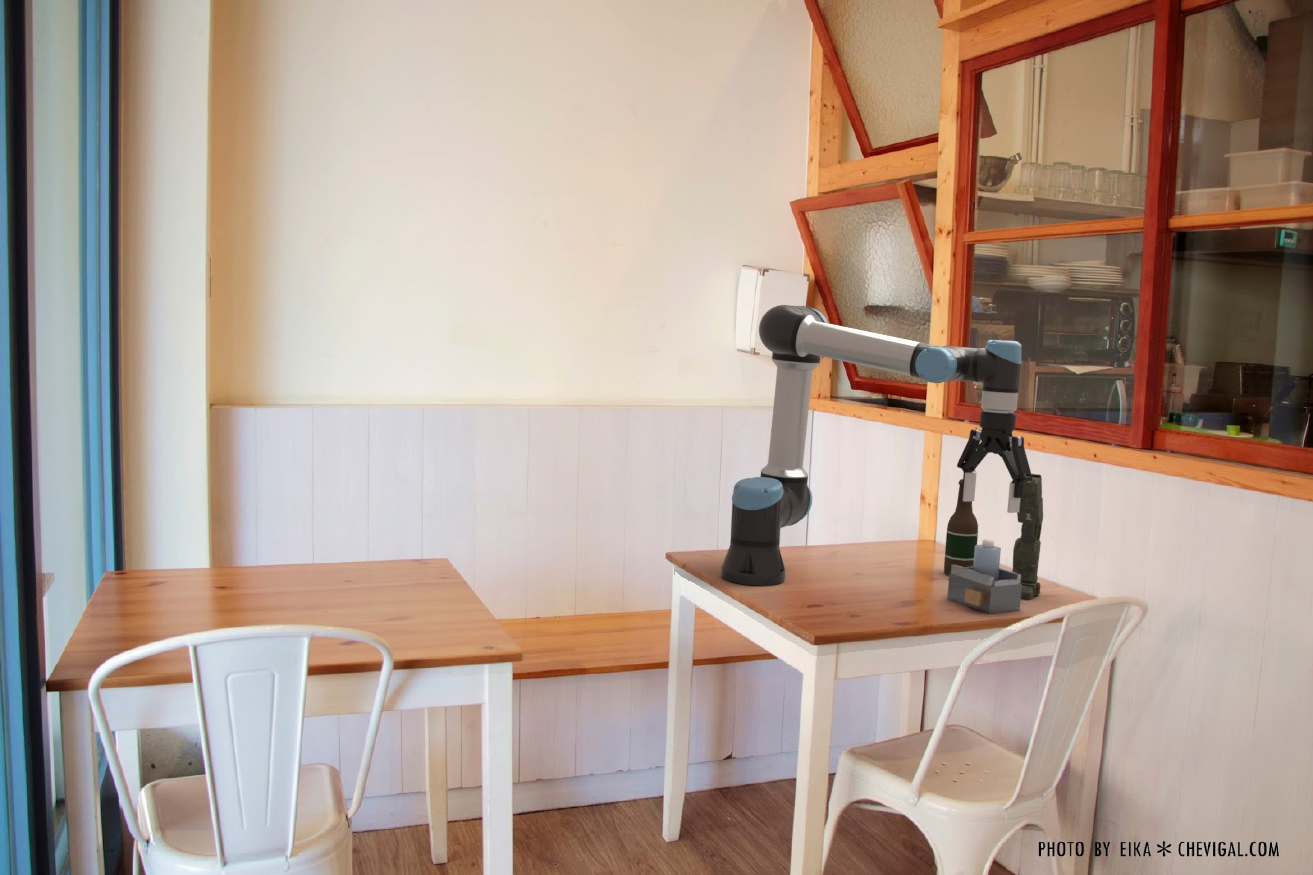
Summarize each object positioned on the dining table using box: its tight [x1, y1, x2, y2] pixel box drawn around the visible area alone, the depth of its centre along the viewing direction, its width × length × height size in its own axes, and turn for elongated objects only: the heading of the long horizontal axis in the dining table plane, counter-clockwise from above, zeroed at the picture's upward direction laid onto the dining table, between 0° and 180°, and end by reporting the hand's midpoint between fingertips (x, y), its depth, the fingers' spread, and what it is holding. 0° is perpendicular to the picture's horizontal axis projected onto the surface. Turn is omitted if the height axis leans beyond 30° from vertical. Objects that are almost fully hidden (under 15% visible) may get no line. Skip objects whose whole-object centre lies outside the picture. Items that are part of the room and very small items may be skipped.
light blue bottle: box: [973, 539, 1002, 581], centre depth 235 cm, size 6×6×8 cm
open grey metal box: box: [946, 564, 1022, 615], centre depth 236 cm, size 15×11×8 cm
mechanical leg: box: [1011, 473, 1044, 601], centre depth 245 cm, size 14×7×30 cm, turn 149°
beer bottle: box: [943, 478, 979, 576], centre depth 262 cm, size 8×8×24 cm
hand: (990, 506), depth 233 cm, fingers open, 13 cm apart
